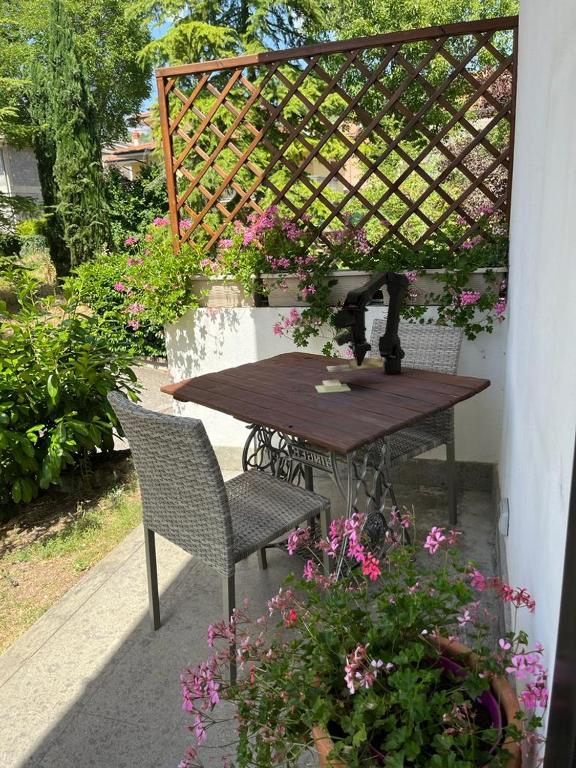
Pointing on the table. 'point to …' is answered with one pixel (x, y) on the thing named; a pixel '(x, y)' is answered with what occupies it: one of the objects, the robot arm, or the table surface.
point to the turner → (367, 363)
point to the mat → (322, 390)
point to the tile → (331, 385)
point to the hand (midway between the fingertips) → (358, 365)
